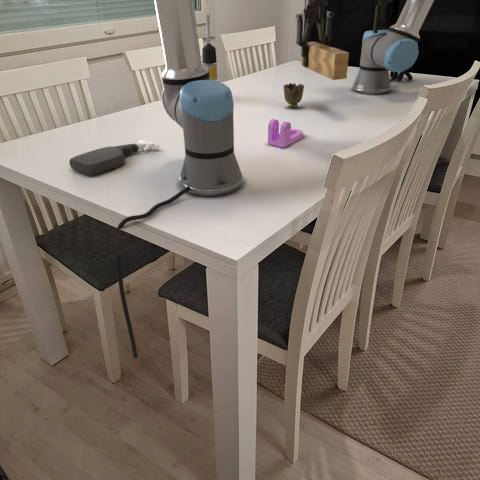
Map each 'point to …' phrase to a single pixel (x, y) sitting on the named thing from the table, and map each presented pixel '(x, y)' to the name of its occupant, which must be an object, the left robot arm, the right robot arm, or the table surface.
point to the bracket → (282, 134)
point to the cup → (293, 94)
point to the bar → (327, 61)
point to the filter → (209, 54)
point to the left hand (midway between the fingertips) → (349, 32)
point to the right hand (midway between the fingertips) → (312, 65)
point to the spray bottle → (106, 157)
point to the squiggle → (401, 74)
